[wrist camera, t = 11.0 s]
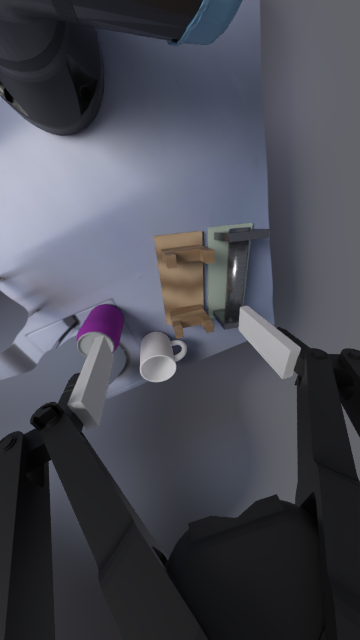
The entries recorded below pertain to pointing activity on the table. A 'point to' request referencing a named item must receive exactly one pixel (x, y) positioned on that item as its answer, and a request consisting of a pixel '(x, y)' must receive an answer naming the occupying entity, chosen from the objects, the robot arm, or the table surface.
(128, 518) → the robot arm
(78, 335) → the beverage can
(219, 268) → the mat
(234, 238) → the rod
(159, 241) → the cradle
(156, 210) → the table surface
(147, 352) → the mug
